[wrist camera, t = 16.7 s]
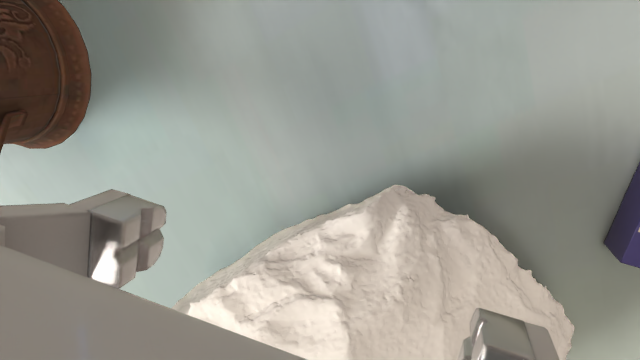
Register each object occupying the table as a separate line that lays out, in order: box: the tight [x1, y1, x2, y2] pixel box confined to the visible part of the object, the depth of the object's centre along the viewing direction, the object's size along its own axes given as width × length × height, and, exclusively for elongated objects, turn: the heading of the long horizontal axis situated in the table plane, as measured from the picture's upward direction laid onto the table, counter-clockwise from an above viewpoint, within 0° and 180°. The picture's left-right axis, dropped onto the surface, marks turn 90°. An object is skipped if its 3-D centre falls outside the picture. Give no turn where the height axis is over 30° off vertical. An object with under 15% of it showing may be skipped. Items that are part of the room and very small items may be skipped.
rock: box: [171, 185, 574, 360], centre depth 38 cm, size 28×22×35 cm
